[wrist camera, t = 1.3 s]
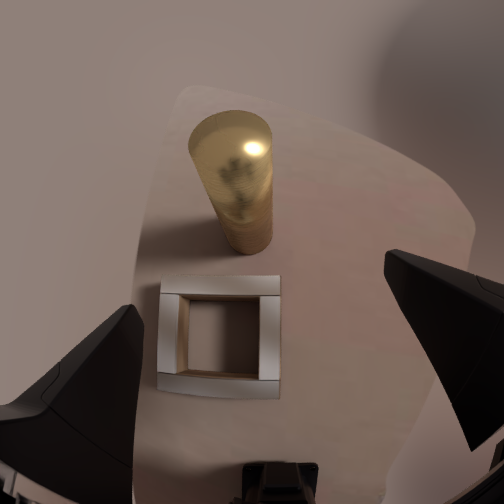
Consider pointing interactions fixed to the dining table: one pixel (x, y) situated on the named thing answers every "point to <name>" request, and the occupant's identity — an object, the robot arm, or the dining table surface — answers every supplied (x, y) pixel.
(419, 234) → the dining table surface
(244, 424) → the dining table surface
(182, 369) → the shallow grey tray
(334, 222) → the dining table surface
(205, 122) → the gold cylinder
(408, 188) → the dining table surface
